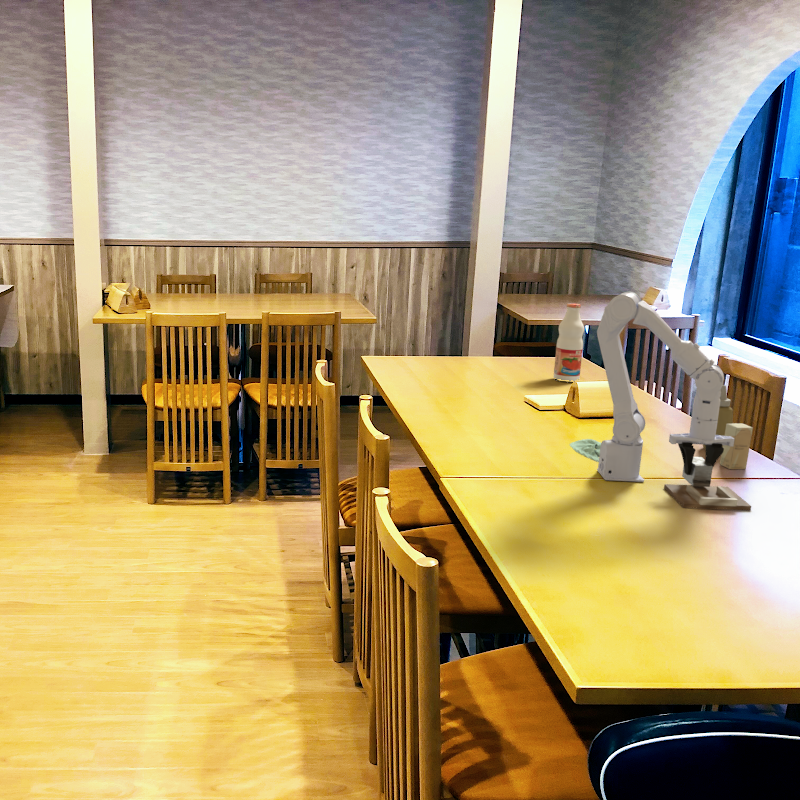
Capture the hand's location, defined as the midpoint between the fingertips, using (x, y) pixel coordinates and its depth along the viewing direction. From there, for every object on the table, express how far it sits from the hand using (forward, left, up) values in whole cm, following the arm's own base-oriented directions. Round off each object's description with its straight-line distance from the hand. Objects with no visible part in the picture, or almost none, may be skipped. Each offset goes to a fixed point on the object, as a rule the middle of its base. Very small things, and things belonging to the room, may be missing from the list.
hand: (696, 474), depth 205 cm
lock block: (0, 0, -2) cm, 2 cm away
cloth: (-14, +27, -4) cm, 31 cm away
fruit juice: (-4, +119, -4) cm, 119 cm away
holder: (0, -7, -4) cm, 8 cm away
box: (+17, +19, -4) cm, 26 cm away
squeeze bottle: (+18, +34, -4) cm, 39 cm away
